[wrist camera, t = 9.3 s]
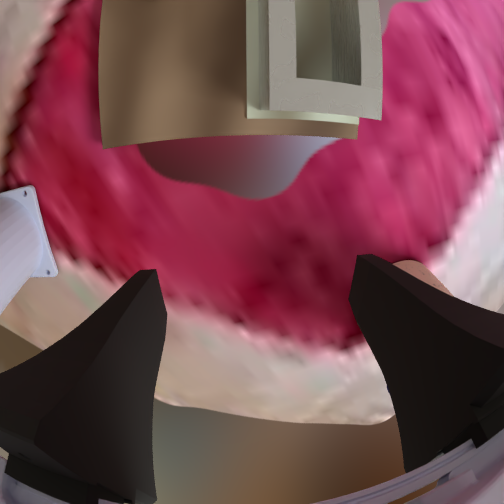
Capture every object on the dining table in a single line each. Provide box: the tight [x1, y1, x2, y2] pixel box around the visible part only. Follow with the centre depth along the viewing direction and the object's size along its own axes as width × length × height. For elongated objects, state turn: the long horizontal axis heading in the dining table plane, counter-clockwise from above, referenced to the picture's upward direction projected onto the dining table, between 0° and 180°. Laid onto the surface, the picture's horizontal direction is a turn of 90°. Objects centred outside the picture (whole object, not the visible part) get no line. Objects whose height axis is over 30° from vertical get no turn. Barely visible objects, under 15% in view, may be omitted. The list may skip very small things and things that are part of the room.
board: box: [99, 0, 359, 149], centre depth 10 cm, size 16×13×6 cm
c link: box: [258, 0, 382, 120], centre depth 11 cm, size 8×6×4 cm
